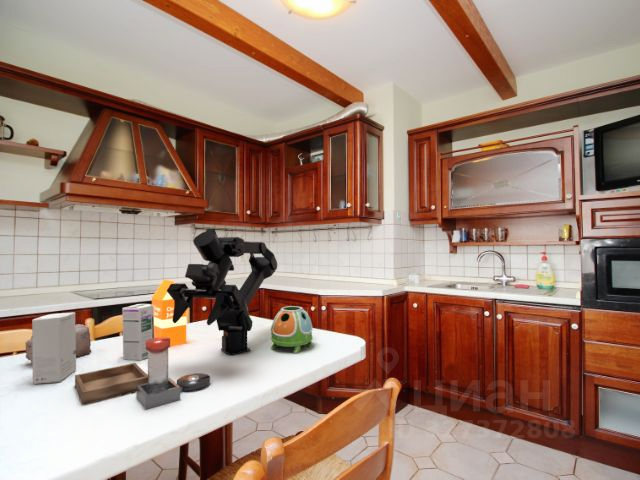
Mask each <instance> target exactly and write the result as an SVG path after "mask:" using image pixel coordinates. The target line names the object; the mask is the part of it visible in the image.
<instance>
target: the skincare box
mask: <svg viewBox="0 0 640 480" xmlns="http://www.w3.org/2000/svg"><path fill="white" fill-rule="evenodd" d="M31 323H32V324H31V330H32V333H31V334H32V335H31V336H32V348H33V351H32V353H33V362H32V385H36V384H37V385H38V384H52V383H54V384H55V383H61V382H62V381H64V380H65V379H66V378H67V377H69V376H70V375H71V374H73V373H75V372H76V371H77V357H76V331H75V325H76V312H73V311H72V312H61V313H60V312H59V313H50V314H46V315H43V316H42V315H41V316H39V317H36V318H34V319H32V321H31Z"/></svg>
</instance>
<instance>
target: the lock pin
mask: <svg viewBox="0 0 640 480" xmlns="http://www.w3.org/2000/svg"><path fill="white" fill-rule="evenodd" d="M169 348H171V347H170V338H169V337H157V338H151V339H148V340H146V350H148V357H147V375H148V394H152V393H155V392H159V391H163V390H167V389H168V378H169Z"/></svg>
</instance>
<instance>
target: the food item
mask: <svg viewBox="0 0 640 480" xmlns="http://www.w3.org/2000/svg"><path fill="white" fill-rule="evenodd" d="M75 331H76V358H77V357H80V356H84V355H88V354H90V353H92V349H91V334H90V328H89V327H88V326H86V325H84V324H75ZM30 336H31V338H30V339H28V340H26V341H25V358H26V359H27V360H28V361H30V362H31V363H33V353H32V351H33V348H32V335H30Z"/></svg>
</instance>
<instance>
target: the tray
mask: <svg viewBox="0 0 640 480" xmlns="http://www.w3.org/2000/svg"><path fill="white" fill-rule="evenodd" d="M147 383H148V373H146V372H145V370H143V369H142V368H141V367H140V366H139V365H138V364H137V363H136V362H133V363H128V364H123V365H118V366H112V367H108V368H103V369H97V370H93V371H89V372H84V373H79V374H75V375H74V387H75V390H76V392H77V393H76V394H77V395H78V398H79V400H80V402H81V405H82V406H85V405H90V404H92V403H97V402H100V401H105V400H108V399H112V398H116V397H120V396H124V395H128V394H133V393H136V386H138V385H142V384H147Z"/></svg>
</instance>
